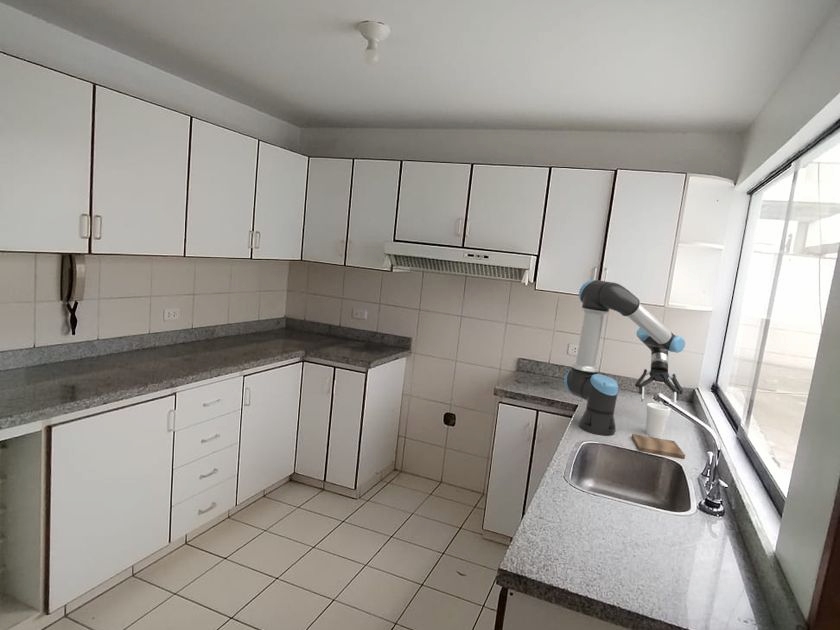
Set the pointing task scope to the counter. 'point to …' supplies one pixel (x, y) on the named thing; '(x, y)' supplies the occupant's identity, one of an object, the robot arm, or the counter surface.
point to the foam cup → (656, 419)
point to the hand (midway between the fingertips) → (658, 403)
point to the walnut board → (657, 446)
